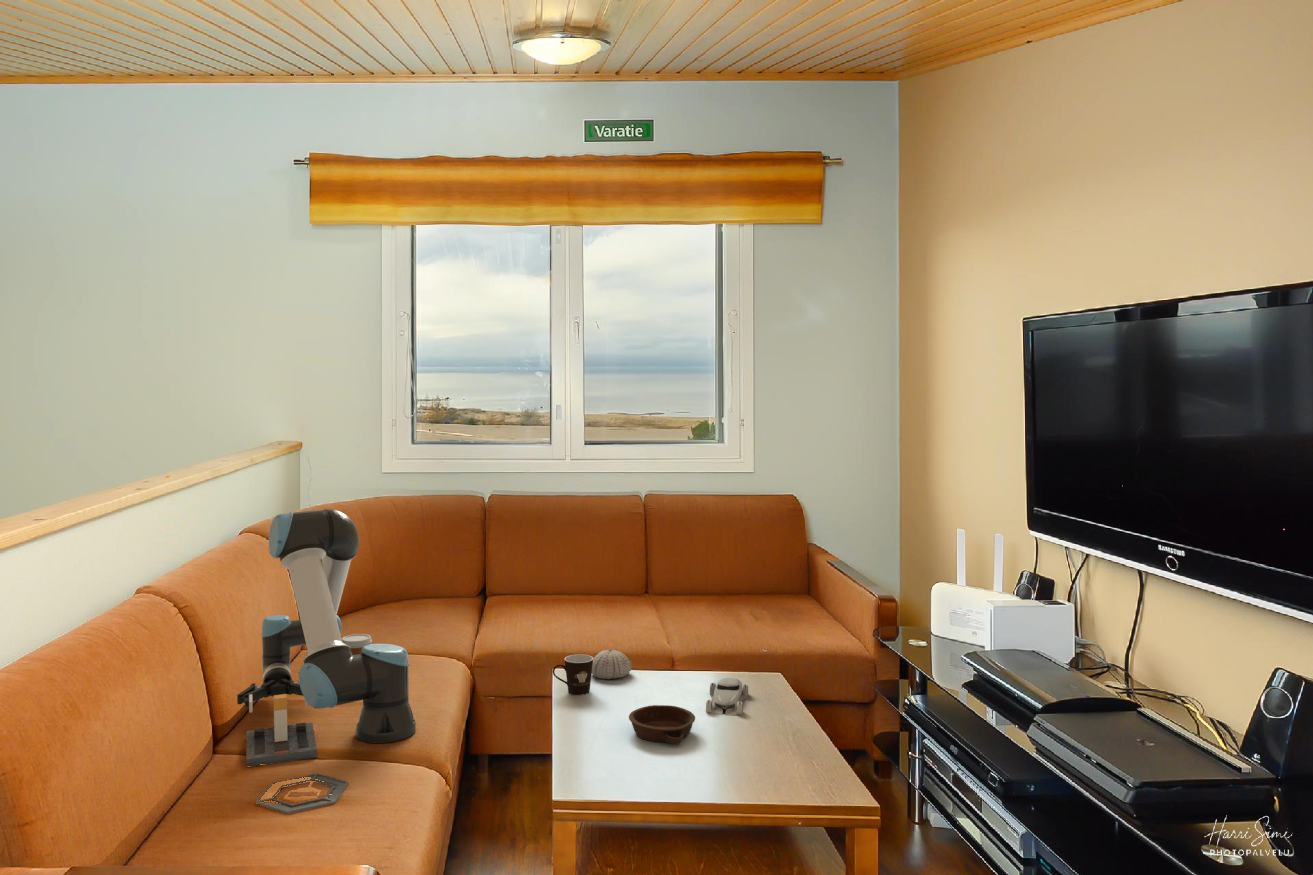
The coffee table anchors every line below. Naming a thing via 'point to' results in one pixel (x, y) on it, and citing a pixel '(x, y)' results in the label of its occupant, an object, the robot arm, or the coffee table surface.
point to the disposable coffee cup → (357, 642)
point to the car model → (727, 697)
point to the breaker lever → (280, 718)
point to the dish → (662, 723)
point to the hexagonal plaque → (287, 808)
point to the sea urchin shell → (610, 665)
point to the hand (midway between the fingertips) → (279, 703)
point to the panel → (280, 745)
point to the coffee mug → (577, 673)
